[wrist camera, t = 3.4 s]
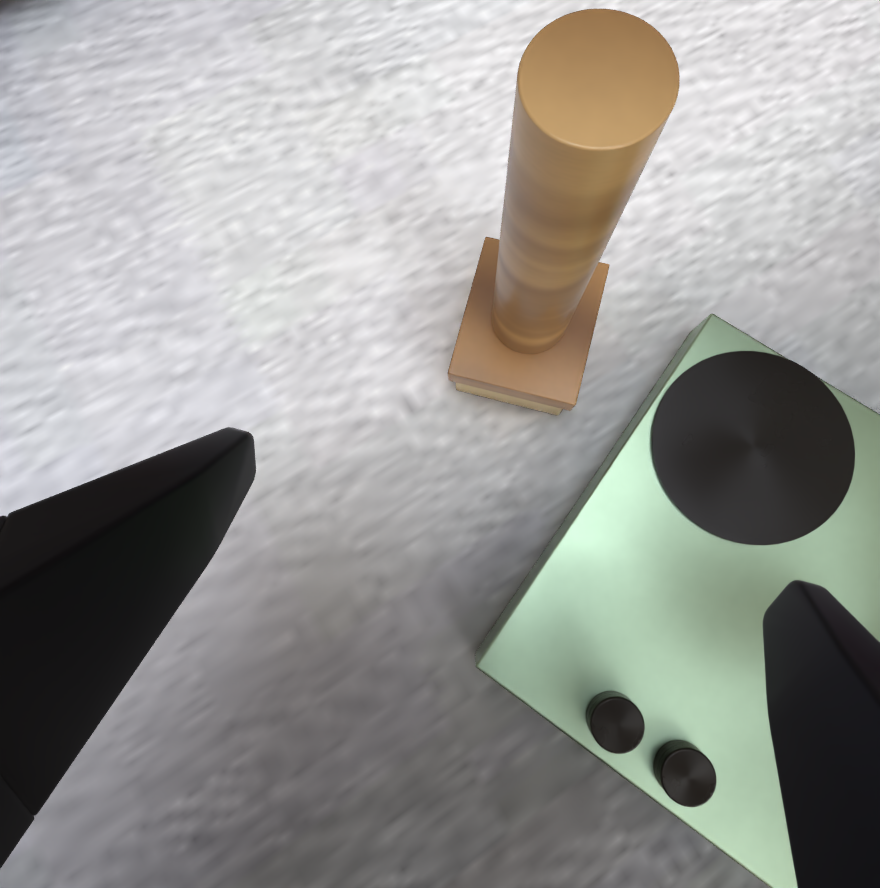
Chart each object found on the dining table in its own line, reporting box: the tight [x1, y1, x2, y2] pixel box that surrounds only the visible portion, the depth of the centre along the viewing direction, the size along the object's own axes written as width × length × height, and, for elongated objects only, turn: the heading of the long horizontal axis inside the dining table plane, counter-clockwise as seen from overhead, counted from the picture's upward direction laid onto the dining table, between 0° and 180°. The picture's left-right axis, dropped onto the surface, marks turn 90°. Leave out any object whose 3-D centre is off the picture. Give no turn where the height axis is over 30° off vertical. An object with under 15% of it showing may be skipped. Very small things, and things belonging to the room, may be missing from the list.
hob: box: [475, 314, 880, 888], centre depth 20 cm, size 16×20×3 cm
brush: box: [448, 9, 679, 415], centre depth 16 cm, size 6×5×14 cm
